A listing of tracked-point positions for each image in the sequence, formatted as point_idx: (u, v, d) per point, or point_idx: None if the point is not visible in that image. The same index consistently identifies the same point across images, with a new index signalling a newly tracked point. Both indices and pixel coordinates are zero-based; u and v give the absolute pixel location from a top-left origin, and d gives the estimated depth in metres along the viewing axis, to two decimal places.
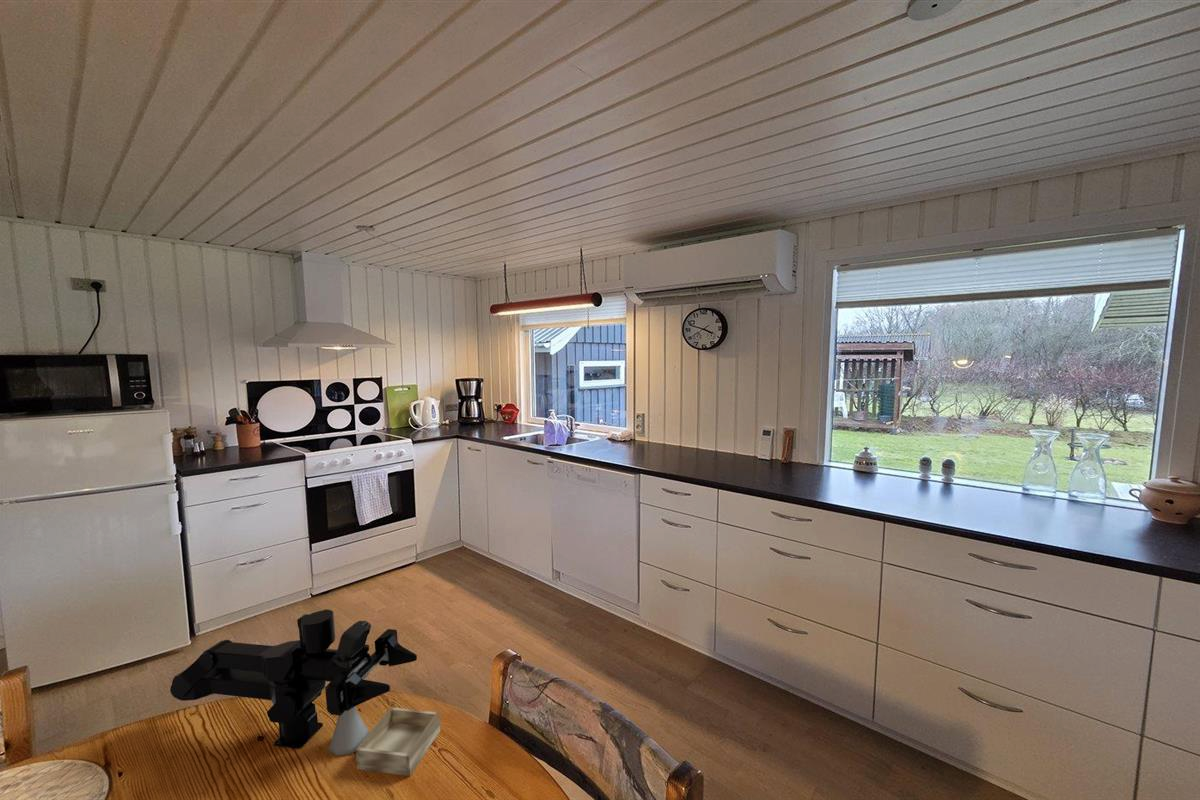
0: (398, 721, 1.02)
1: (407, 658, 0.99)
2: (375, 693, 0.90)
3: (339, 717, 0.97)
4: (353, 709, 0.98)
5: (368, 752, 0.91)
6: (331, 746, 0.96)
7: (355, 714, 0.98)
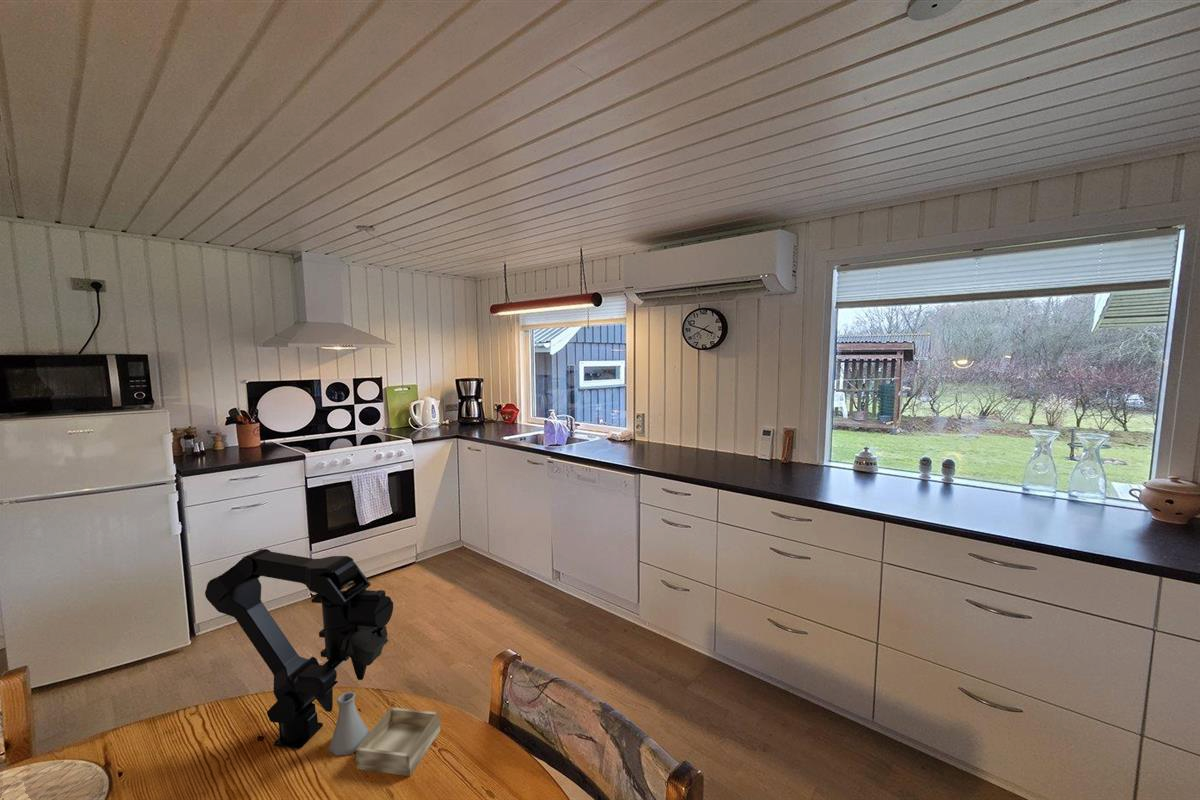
0: (398, 721, 1.02)
1: (358, 671, 1.02)
2: (321, 702, 0.92)
3: (339, 717, 0.97)
4: (353, 709, 0.98)
5: (368, 752, 0.91)
6: (331, 746, 0.96)
7: (355, 714, 0.98)
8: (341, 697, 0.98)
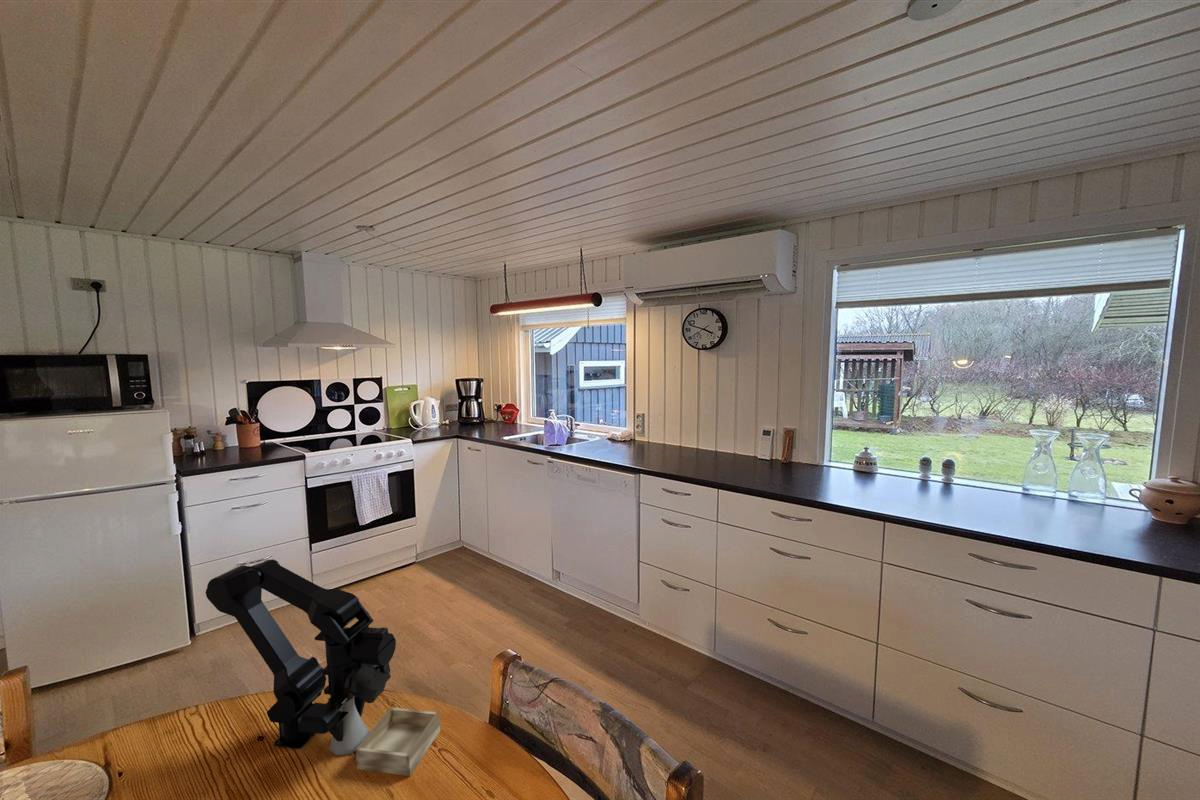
0: (398, 721, 1.02)
1: None
2: (332, 732, 0.95)
3: None
4: (353, 709, 0.98)
5: (368, 752, 0.91)
6: (331, 746, 0.96)
7: (355, 714, 0.98)
8: None
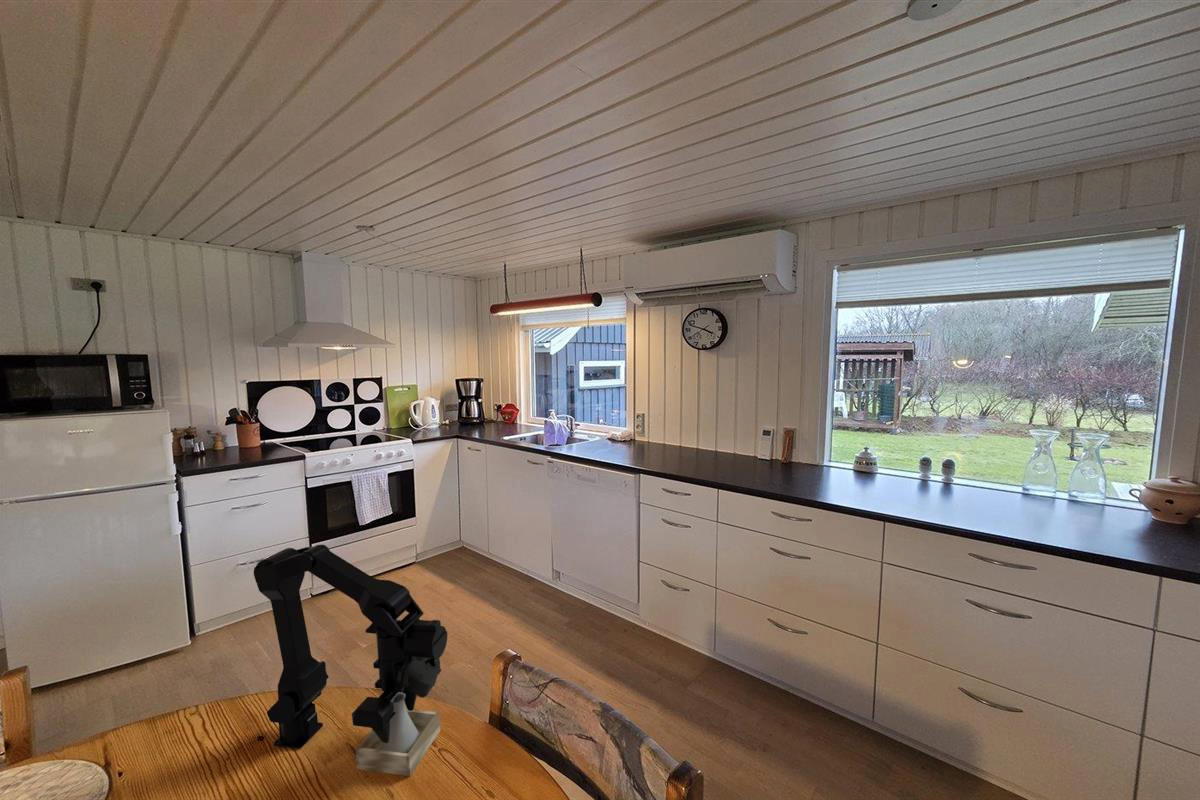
0: None
1: (408, 701, 1.00)
2: (379, 734, 0.91)
3: None
4: (403, 710, 0.95)
5: (368, 752, 0.91)
6: (382, 748, 0.94)
7: (405, 715, 0.96)
8: None
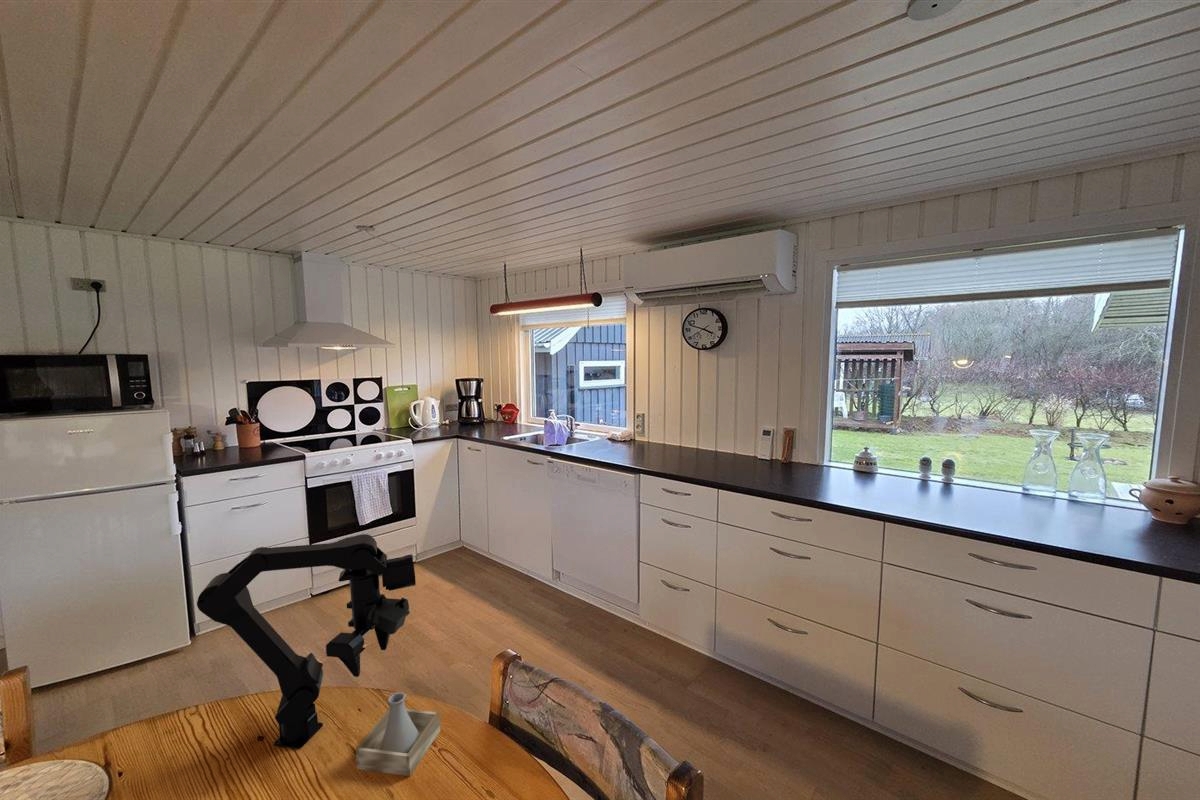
0: None
1: (381, 641, 1.09)
2: (350, 668, 1.00)
3: (390, 718, 0.94)
4: (403, 710, 0.95)
5: (368, 752, 0.91)
6: (382, 748, 0.94)
7: (405, 715, 0.96)
8: (391, 698, 0.96)
